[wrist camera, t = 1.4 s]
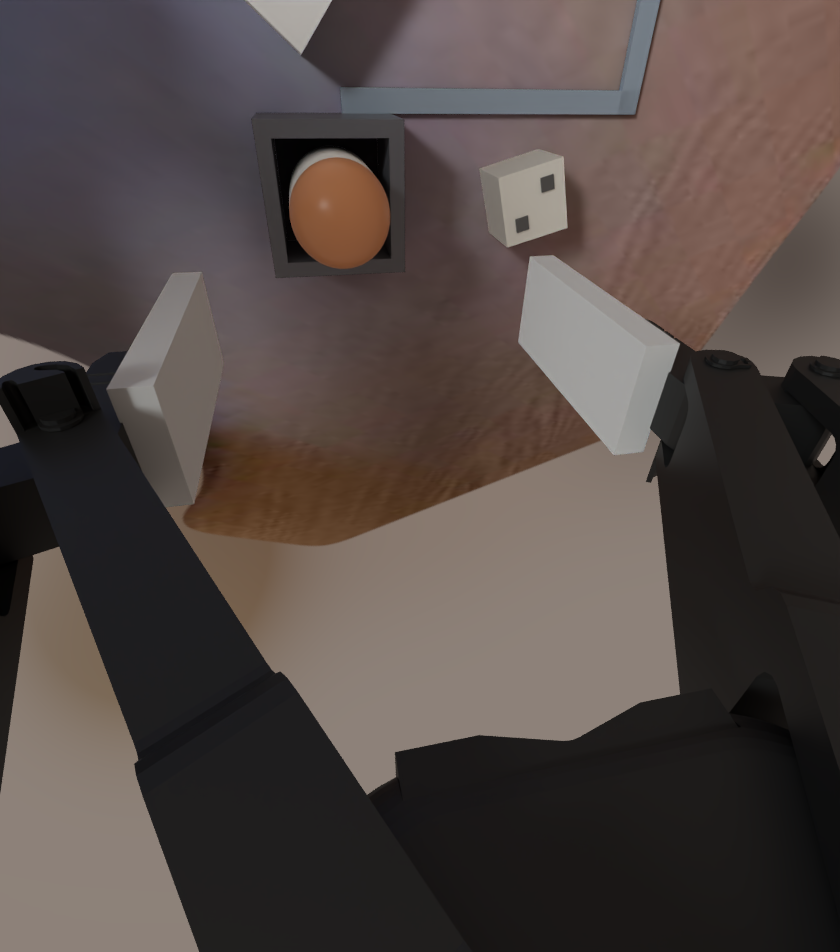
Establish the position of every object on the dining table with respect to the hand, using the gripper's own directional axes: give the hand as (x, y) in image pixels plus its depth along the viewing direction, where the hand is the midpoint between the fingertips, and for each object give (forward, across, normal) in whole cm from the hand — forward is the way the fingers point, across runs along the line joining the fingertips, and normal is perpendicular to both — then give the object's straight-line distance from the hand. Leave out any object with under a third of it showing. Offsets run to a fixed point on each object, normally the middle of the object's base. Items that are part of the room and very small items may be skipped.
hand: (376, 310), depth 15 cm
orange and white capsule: (+19, 0, 0) cm, 19 cm away
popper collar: (+22, 0, 0) cm, 22 cm away
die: (+22, +12, -1) cm, 25 cm away
